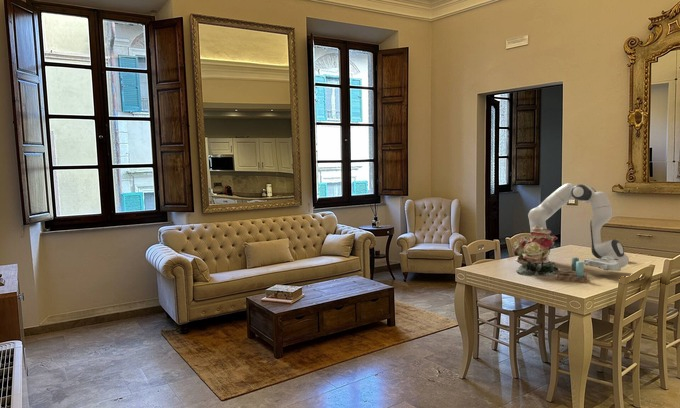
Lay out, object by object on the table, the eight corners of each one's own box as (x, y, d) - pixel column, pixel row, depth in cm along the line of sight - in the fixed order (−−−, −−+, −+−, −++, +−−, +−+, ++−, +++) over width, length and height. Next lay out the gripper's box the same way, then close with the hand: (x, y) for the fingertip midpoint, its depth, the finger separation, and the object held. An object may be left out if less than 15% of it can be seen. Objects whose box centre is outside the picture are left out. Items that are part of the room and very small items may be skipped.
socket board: (556, 279, 285) (556, 275, 285) (558, 276, 294) (558, 272, 294) (586, 282, 278) (586, 278, 277) (587, 278, 286) (587, 274, 286)
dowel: (575, 280, 283) (576, 262, 282) (575, 279, 286) (576, 261, 286) (583, 281, 281) (583, 263, 280) (583, 279, 285) (583, 261, 284)
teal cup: (558, 274, 299) (559, 258, 298) (559, 272, 305) (560, 255, 304) (580, 276, 293) (580, 259, 292) (580, 273, 299) (581, 257, 298)
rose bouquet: (511, 266, 324) (511, 223, 321) (558, 269, 313) (559, 224, 310) (510, 275, 300) (510, 228, 297) (560, 278, 289) (561, 229, 286)
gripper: (592, 255, 303) (577, 257, 297) (623, 260, 285) (608, 263, 279) (592, 264, 304) (577, 267, 298) (623, 271, 285) (608, 274, 279)
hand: (592, 265), depth 288 cm, fingers open, 8 cm apart
